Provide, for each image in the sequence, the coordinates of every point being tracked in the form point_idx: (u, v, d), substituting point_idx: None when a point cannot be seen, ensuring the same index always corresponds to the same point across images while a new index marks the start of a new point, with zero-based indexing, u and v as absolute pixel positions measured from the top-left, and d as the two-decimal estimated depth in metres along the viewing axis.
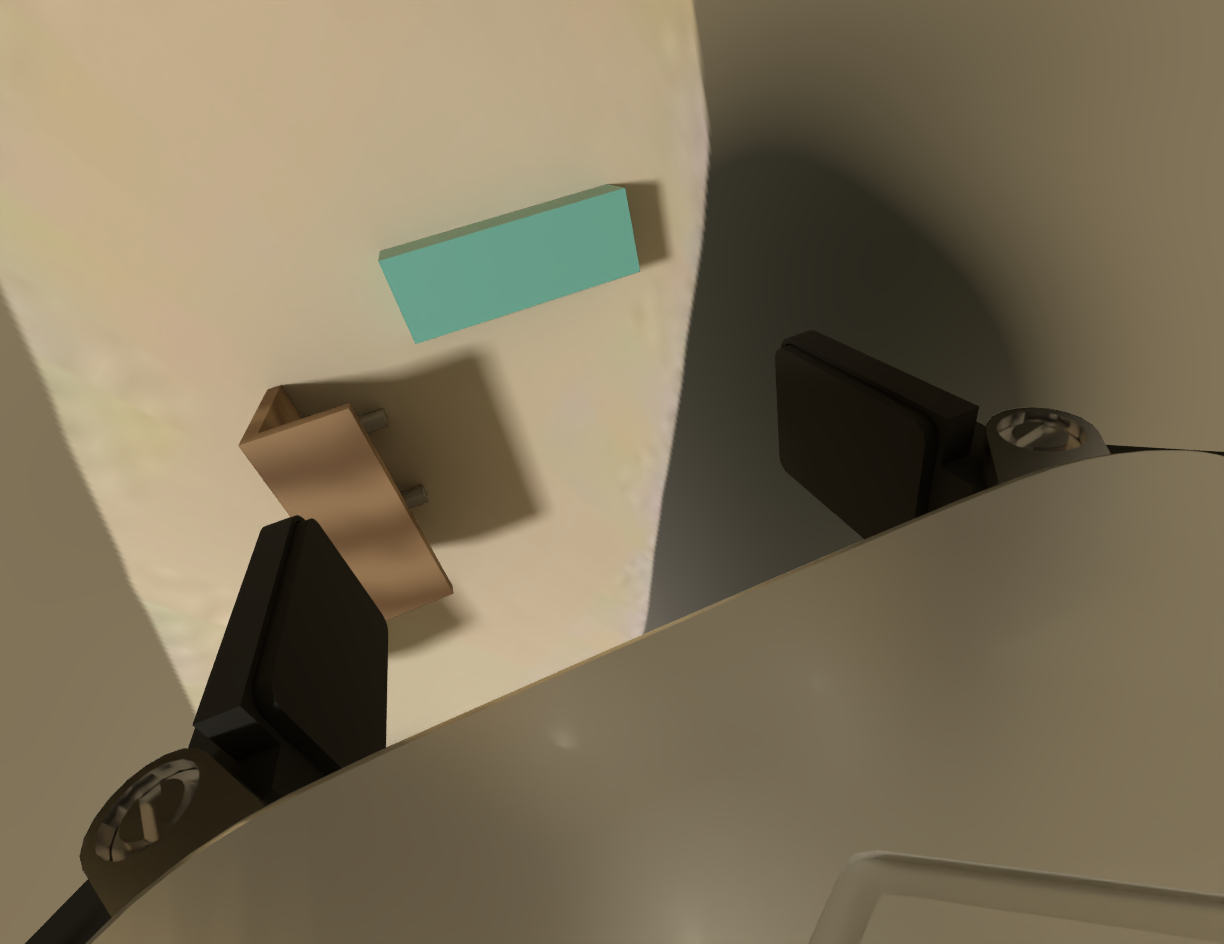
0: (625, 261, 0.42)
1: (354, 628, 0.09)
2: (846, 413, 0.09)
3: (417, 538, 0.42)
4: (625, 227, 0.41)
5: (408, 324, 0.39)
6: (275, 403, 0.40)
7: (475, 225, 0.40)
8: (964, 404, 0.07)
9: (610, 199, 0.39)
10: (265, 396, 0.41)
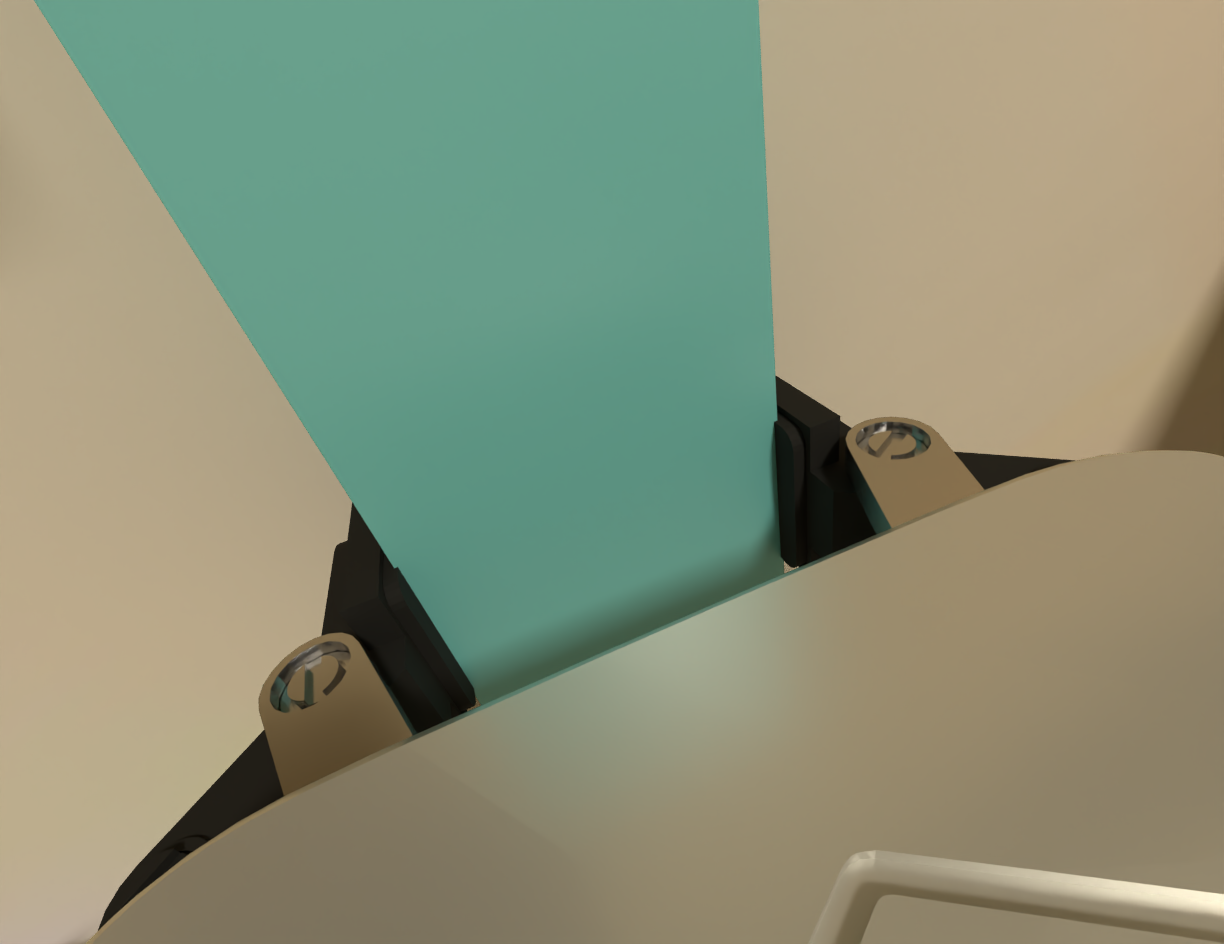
0: None
1: None
2: None
3: None
4: None
5: None
6: None
7: None
8: (827, 414, 0.08)
9: None
10: None
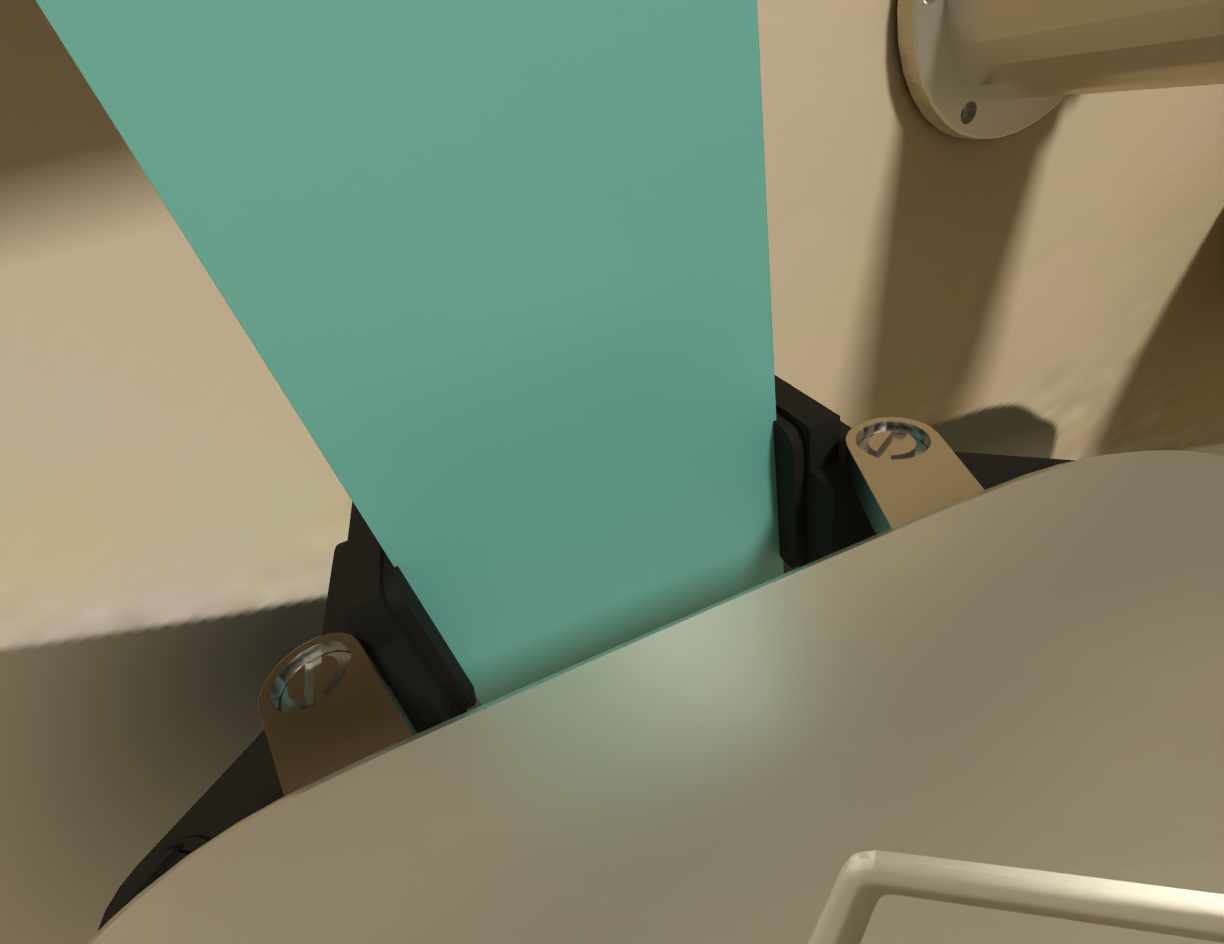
0: None
1: None
2: None
3: None
4: None
5: None
6: None
7: None
8: (827, 414, 0.08)
9: None
10: None
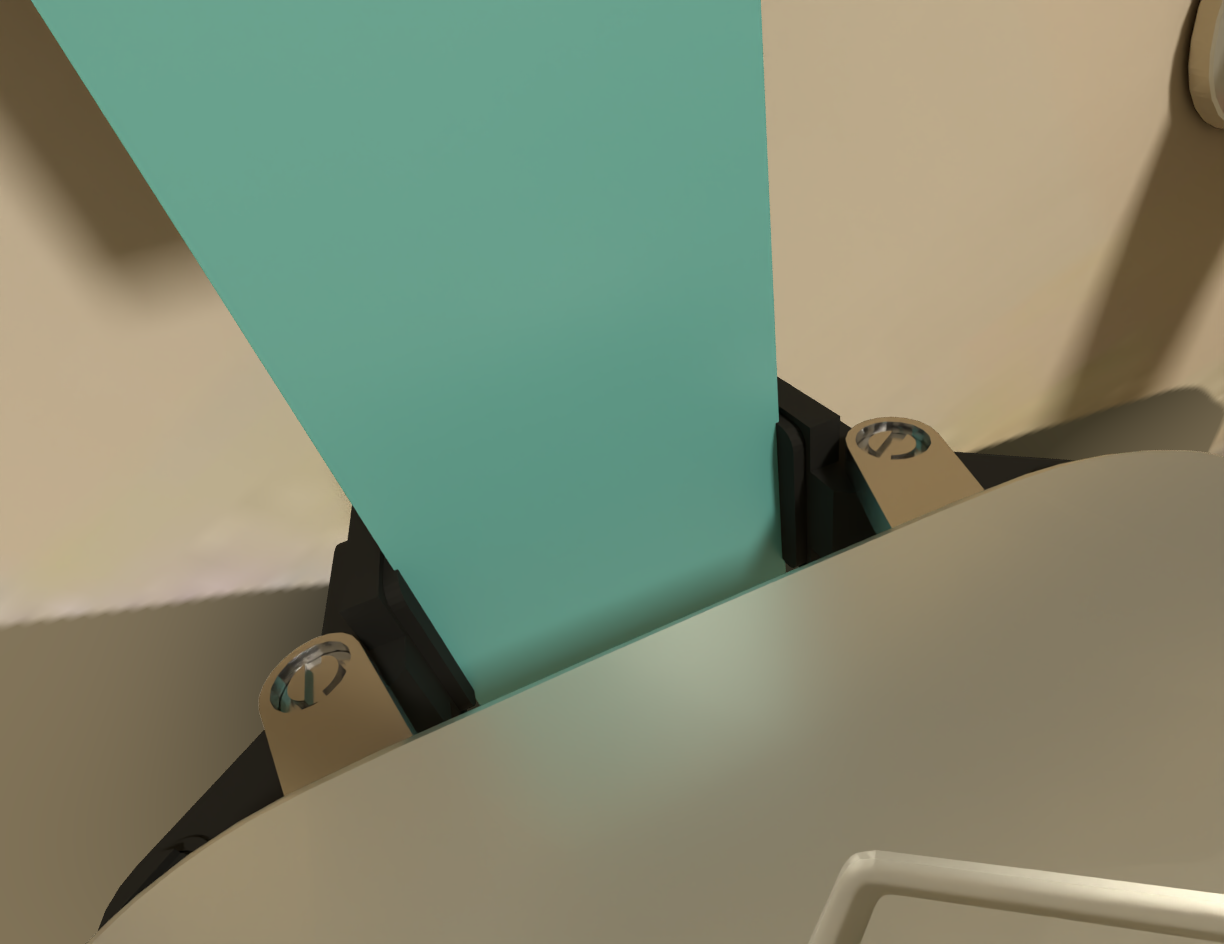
0: None
1: None
2: None
3: None
4: None
5: None
6: None
7: None
8: (827, 414, 0.08)
9: None
10: None
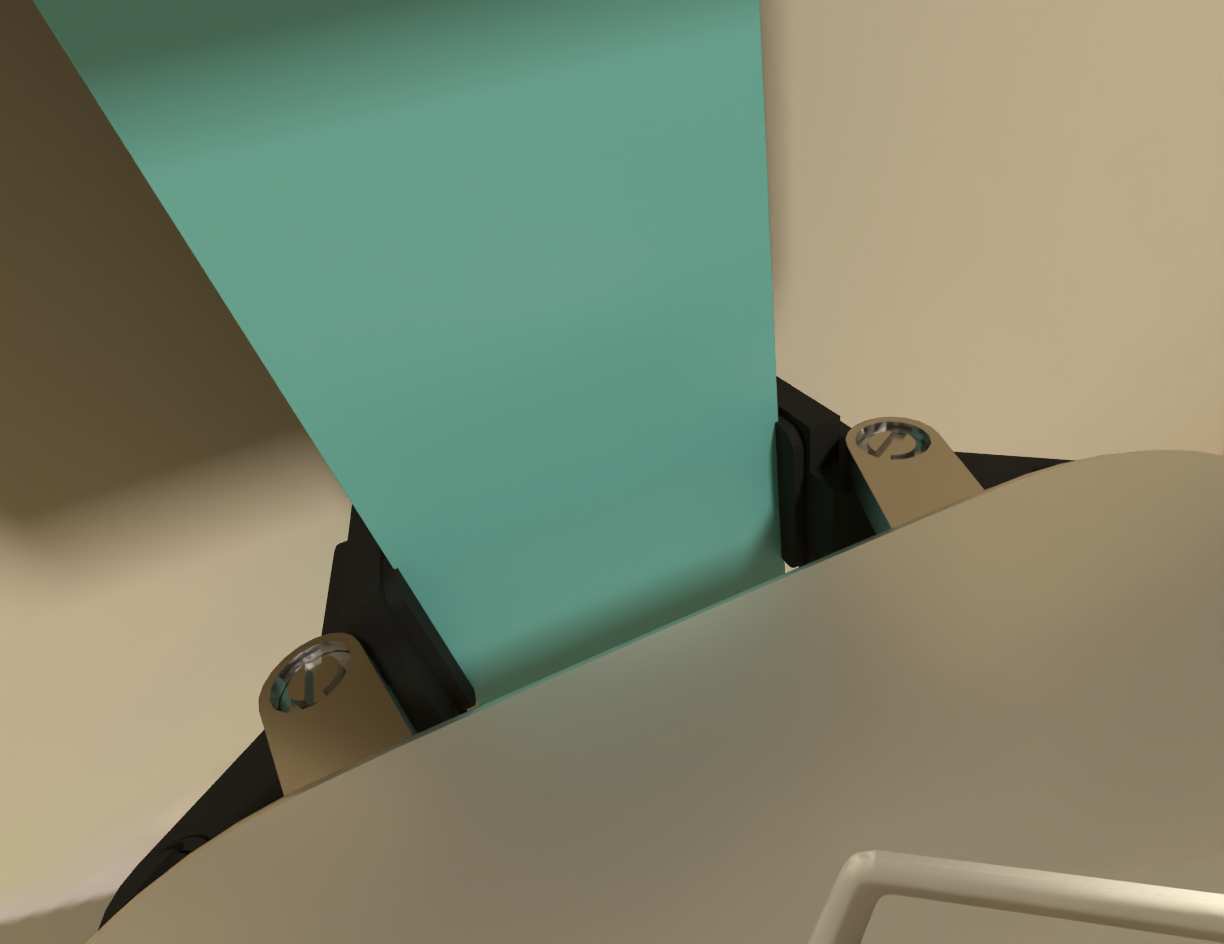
0: None
1: None
2: None
3: None
4: None
5: None
6: None
7: None
8: (828, 414, 0.08)
9: None
10: None
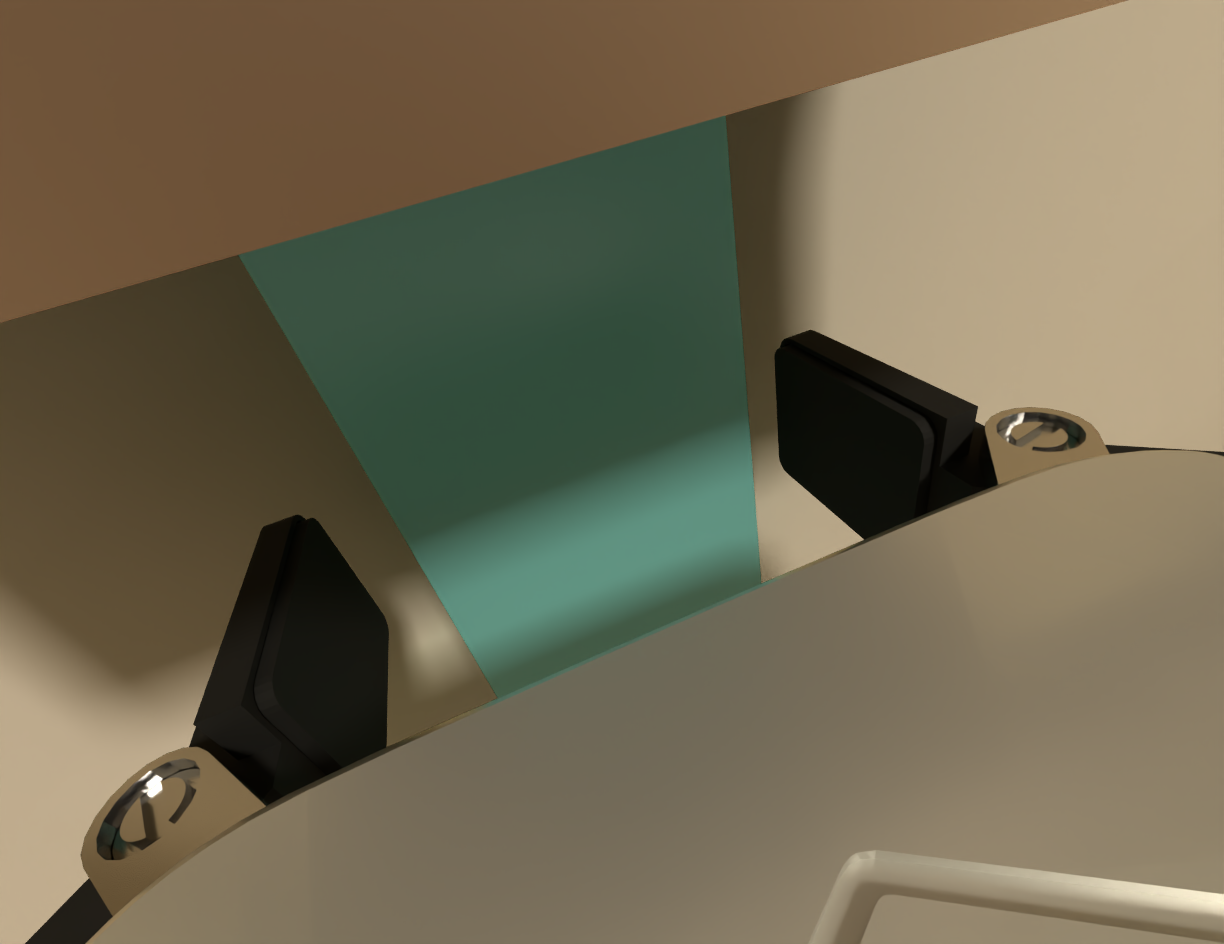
0: None
1: (355, 627, 0.09)
2: (845, 413, 0.09)
3: None
4: None
5: None
6: None
7: None
8: (962, 404, 0.07)
9: None
10: None
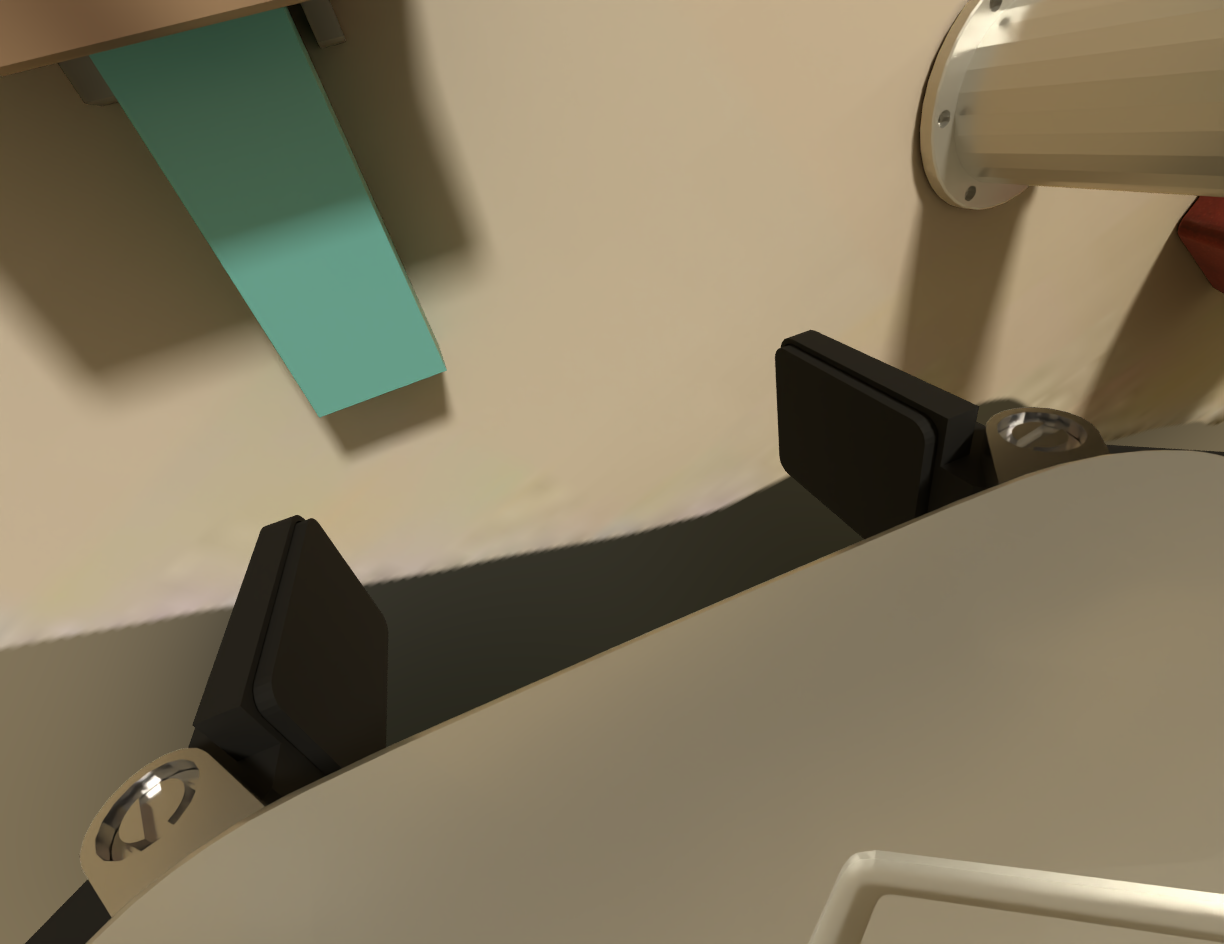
0: (330, 389, 0.24)
1: (354, 628, 0.09)
2: (846, 413, 0.09)
3: (25, 42, 0.13)
4: (387, 379, 0.25)
5: None
6: None
7: (328, 101, 0.22)
8: (964, 404, 0.07)
9: (426, 349, 0.25)
10: None
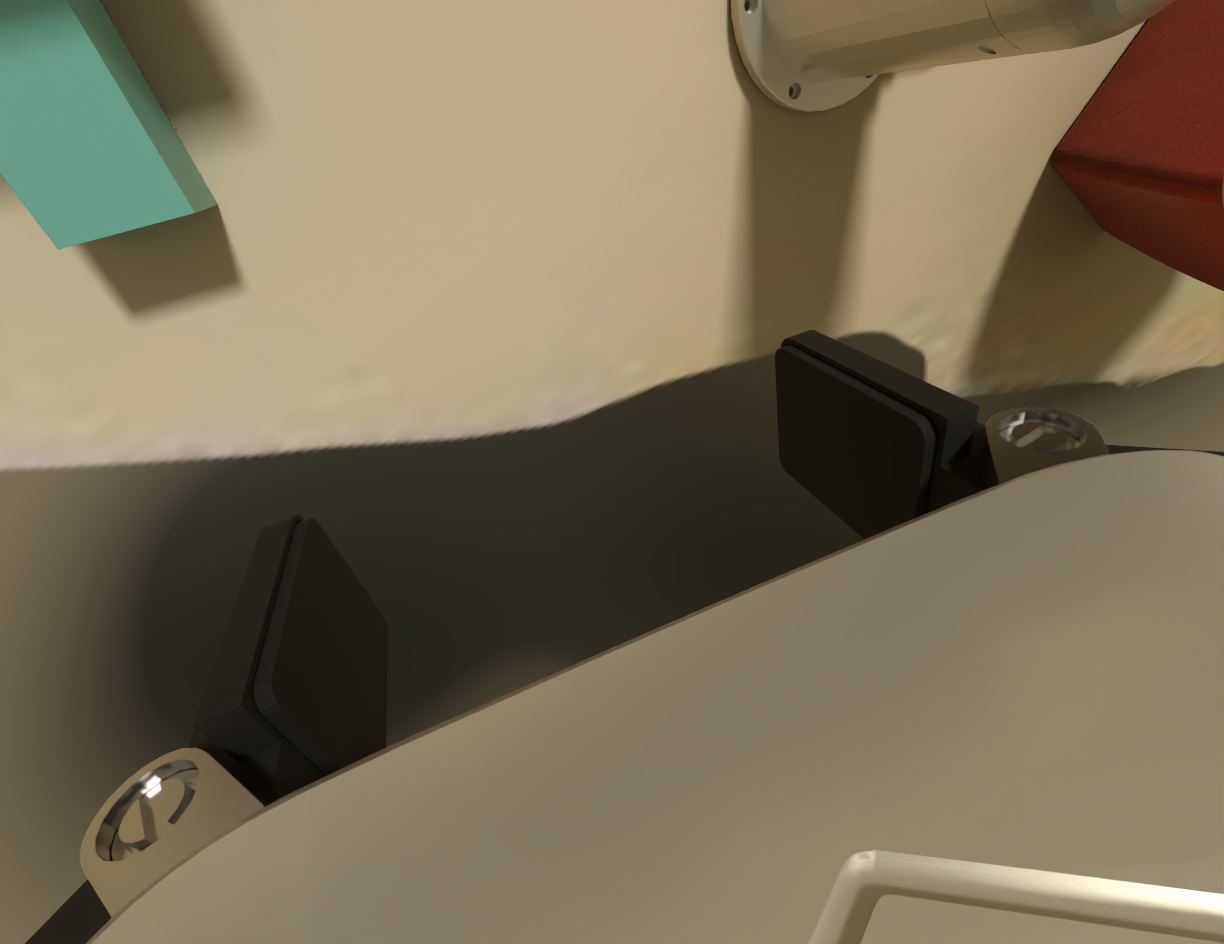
0: (65, 219, 0.24)
1: (354, 628, 0.09)
2: (846, 413, 0.09)
3: None
4: (128, 216, 0.25)
5: None
6: None
7: None
8: (964, 404, 0.07)
9: (167, 186, 0.25)
10: None
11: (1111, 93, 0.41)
